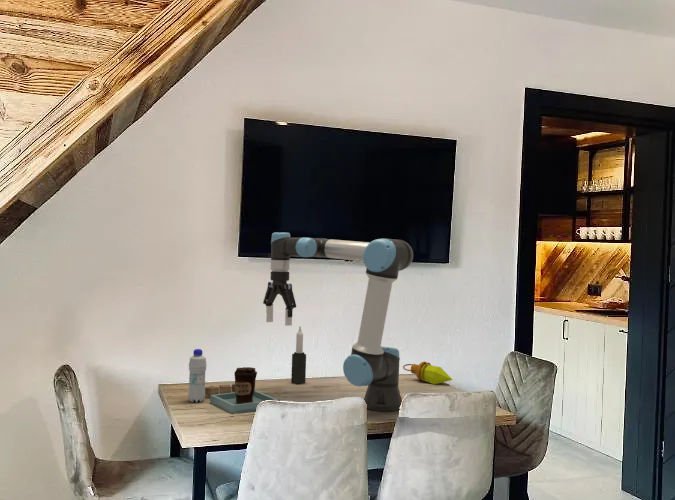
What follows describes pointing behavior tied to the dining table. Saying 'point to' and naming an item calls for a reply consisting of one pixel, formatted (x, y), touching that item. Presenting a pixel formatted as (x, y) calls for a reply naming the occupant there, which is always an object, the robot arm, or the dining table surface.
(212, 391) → the walnut block
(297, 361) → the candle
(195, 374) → the bottle
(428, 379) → the plumb bob
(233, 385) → the walnut block
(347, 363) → the robot arm
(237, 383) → the coffee cup
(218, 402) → the tray
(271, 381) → the dining table surface
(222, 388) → the walnut block
